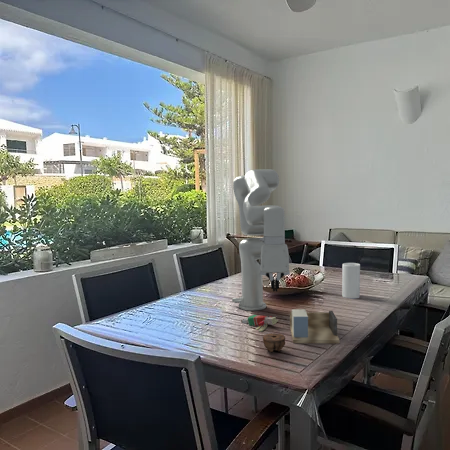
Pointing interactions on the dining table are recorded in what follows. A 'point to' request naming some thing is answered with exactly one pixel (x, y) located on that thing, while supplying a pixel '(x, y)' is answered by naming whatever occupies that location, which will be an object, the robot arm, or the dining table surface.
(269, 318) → the toy
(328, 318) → the tan shallow square box
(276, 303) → the dining table surface
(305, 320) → the book
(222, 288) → the dining table surface
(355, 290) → the cup
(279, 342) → the artifact
